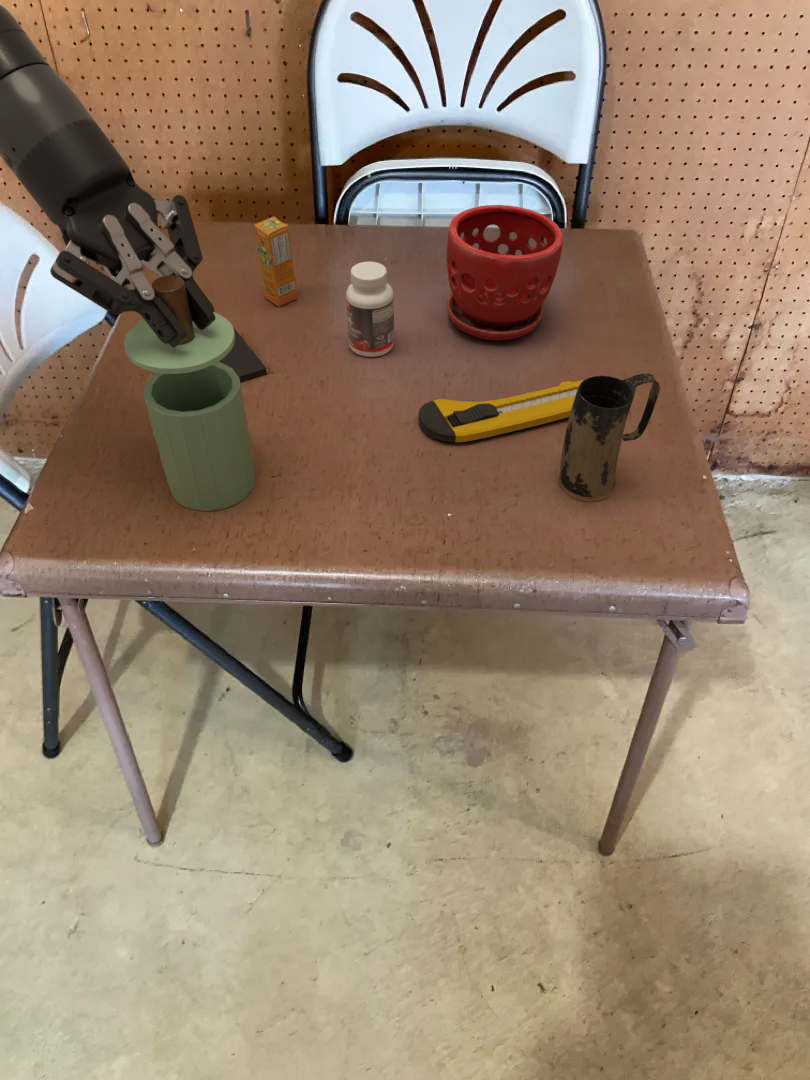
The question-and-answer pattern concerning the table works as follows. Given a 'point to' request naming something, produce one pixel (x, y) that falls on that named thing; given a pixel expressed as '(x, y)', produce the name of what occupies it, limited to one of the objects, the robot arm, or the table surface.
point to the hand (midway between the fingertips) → (194, 332)
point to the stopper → (193, 351)
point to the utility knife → (496, 413)
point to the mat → (243, 360)
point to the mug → (600, 434)
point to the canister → (202, 436)
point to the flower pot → (500, 271)
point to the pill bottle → (370, 310)
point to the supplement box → (276, 261)
